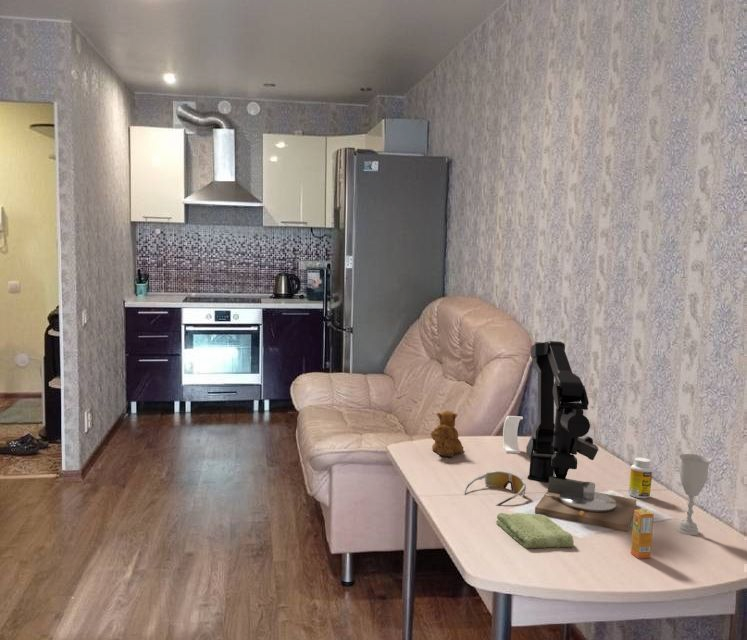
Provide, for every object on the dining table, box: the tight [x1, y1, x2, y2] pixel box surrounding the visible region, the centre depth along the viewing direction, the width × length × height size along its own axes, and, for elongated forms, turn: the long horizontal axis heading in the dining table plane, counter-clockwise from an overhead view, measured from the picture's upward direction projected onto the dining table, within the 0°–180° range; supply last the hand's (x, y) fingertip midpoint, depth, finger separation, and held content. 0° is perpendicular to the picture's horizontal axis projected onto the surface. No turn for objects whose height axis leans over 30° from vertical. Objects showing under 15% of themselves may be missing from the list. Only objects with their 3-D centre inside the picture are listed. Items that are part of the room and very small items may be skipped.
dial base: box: [534, 490, 637, 532], centre depth 192 cm, size 22×22×2 cm
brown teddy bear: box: [429, 410, 464, 458], centre depth 236 cm, size 10×14×13 cm
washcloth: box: [496, 512, 575, 549], centre depth 172 cm, size 13×18×3 cm
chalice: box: [676, 453, 712, 536], centre depth 179 cm, size 7×7×18 cm
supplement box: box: [630, 508, 654, 560], centre depth 162 cm, size 3×3×10 cm
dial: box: [547, 475, 616, 512], centre depth 192 cm, size 17×14×5 cm
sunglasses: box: [463, 470, 527, 506], centre depth 199 cm, size 14×15×5 cm
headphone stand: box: [502, 415, 524, 454], centre depth 245 cm, size 5×6×12 cm
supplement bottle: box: [628, 457, 654, 500], centre depth 205 cm, size 6×6×10 cm
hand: (560, 486), depth 197 cm, fingers closed
